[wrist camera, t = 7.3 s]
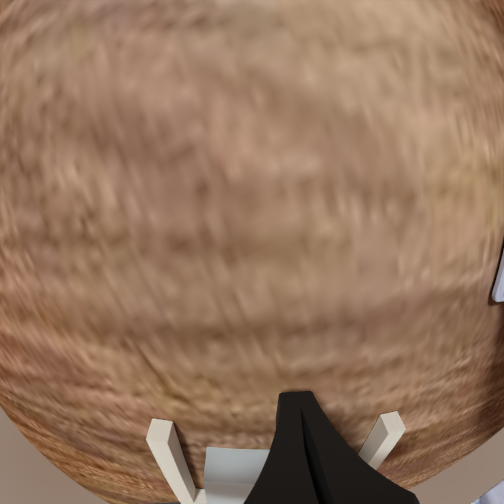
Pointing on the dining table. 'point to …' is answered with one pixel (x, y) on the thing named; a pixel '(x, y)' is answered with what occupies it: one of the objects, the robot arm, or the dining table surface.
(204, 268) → the dining table surface
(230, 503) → the light gray box
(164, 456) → the cream u-shaped bracket
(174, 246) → the dining table surface
